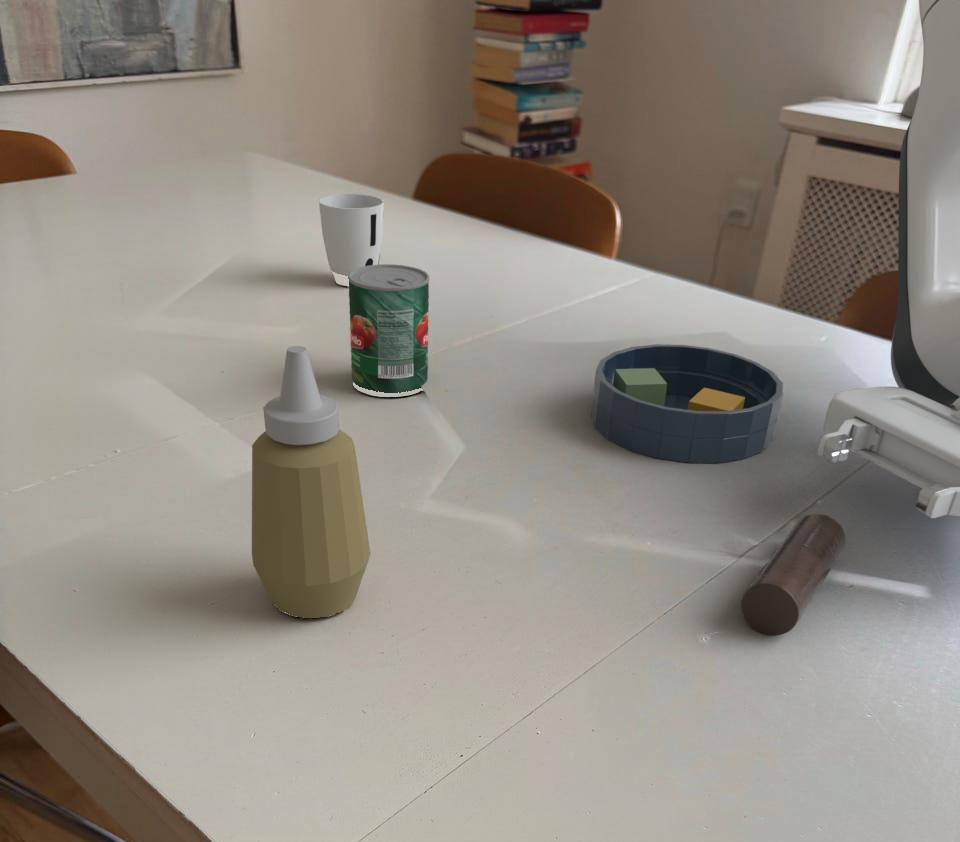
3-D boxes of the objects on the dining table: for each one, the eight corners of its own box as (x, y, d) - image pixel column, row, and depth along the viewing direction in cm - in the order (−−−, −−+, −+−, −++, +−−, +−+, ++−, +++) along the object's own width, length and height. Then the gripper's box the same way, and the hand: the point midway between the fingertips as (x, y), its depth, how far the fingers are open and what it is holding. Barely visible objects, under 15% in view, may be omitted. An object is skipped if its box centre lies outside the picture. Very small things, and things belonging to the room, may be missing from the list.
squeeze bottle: (395, 598, 71) (392, 350, 61) (307, 646, 66) (287, 385, 56) (320, 556, 75) (304, 318, 65) (232, 598, 70) (200, 347, 60)
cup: (376, 293, 127) (375, 210, 122) (315, 288, 128) (310, 205, 122) (391, 276, 134) (390, 196, 128) (332, 270, 135) (329, 191, 129)
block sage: (648, 407, 99) (654, 368, 97) (661, 423, 96) (667, 383, 94) (609, 408, 98) (614, 368, 96) (621, 424, 95) (626, 384, 93)
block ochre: (737, 437, 94) (745, 397, 92) (722, 452, 91) (731, 411, 89) (696, 427, 96) (704, 387, 93) (681, 441, 93) (688, 400, 90)
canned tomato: (336, 380, 104) (331, 271, 97) (398, 364, 108) (397, 259, 101) (381, 405, 99) (379, 292, 92) (443, 387, 103) (445, 279, 97)
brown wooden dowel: (827, 504, 75) (776, 574, 66) (856, 547, 75) (810, 622, 67) (782, 527, 78) (729, 597, 69) (811, 569, 78) (761, 643, 70)
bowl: (742, 397, 104) (752, 345, 101) (794, 472, 90) (808, 414, 87) (579, 395, 103) (584, 342, 100) (606, 470, 89) (614, 412, 86)
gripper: (907, 358, 83) (782, 383, 78) (1138, 456, 69) (1007, 495, 63) (886, 429, 87) (766, 458, 81) (1102, 535, 73) (974, 579, 67)
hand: (873, 475), depth 72 cm, fingers open, 8 cm apart
